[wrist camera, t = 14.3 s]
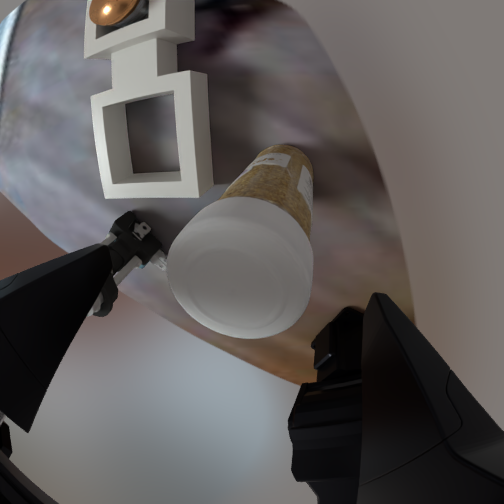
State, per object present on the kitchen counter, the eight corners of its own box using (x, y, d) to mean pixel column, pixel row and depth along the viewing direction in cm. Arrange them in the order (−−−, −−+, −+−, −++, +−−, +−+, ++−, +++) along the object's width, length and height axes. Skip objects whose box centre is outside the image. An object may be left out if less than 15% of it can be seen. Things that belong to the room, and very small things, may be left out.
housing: (213, 185, 21) (190, 205, 17) (125, 186, 22) (93, 205, 19) (206, -30, 11) (181, -53, 7) (114, 0, 13) (81, -8, 9)
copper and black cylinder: (175, 27, 14) (134, 12, 10) (133, 40, 15) (87, 33, 10) (176, -12, 12) (138, -33, 7) (134, 3, 13) (91, -10, 8)
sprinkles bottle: (265, 134, 18) (176, 192, 7) (324, 160, 18) (343, 266, 7) (243, 189, 20) (153, 308, 9) (298, 213, 20) (272, 360, 9)
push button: (186, 245, 24) (126, 320, 16) (159, 275, 27) (106, 344, 18) (133, 197, 23) (56, 252, 14) (113, 232, 25) (48, 289, 17)
